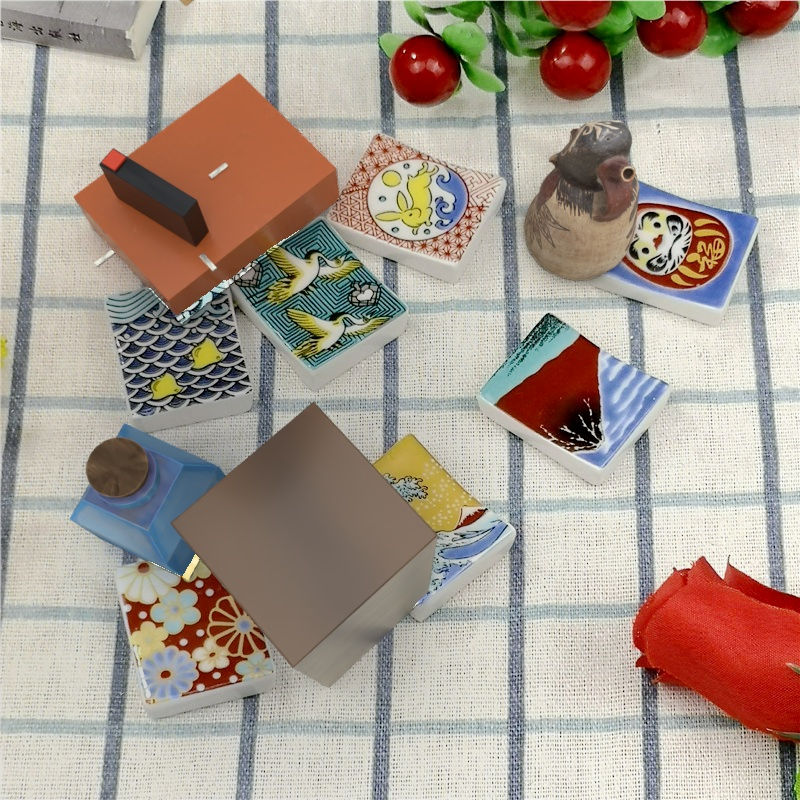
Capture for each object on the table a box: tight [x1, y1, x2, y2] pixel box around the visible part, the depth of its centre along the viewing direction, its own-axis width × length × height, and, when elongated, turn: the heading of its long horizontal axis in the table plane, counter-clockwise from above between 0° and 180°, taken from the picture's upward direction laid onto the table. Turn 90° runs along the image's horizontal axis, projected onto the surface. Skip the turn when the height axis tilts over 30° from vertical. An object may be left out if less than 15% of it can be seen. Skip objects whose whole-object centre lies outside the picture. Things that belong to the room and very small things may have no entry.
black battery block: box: [98, 148, 209, 247], centre depth 63 cm, size 6×1×4 cm, turn 56°
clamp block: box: [73, 72, 341, 315], centre depth 67 cm, size 16×11×4 cm
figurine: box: [523, 119, 640, 281], centre depth 63 cm, size 7×7×12 cm
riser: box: [171, 401, 439, 689], centre depth 52 cm, size 8×8×20 cm
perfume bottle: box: [69, 422, 226, 576], centre depth 57 cm, size 6×6×12 cm
